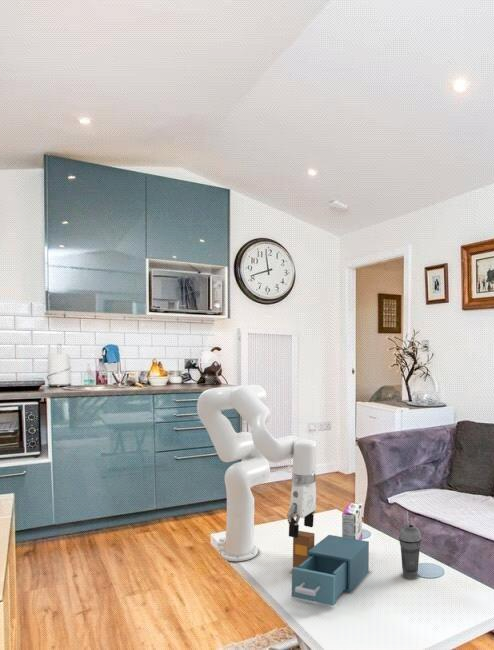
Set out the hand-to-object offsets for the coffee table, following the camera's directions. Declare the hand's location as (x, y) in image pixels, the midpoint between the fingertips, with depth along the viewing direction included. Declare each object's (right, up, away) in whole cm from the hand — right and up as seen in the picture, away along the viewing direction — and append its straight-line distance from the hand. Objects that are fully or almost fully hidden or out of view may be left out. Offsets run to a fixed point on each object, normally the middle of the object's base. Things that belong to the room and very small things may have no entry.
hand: (301, 531), depth 160 cm
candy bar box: (+16, -14, +10) cm, 24 cm away
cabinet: (+13, -12, -5) cm, 18 cm away
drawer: (+8, -10, -17) cm, 21 cm away
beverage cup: (+35, -13, -4) cm, 38 cm away
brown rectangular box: (+1, -13, -2) cm, 13 cm away
